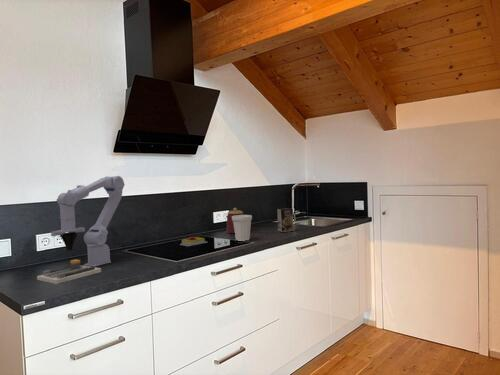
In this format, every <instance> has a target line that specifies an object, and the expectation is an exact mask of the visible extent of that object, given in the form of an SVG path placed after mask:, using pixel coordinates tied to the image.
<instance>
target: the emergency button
mask: <svg viewBox="0 0 500 375" xmlns="http://www.w3.org/2000/svg"><path fill="white" fill-rule="evenodd" d="M206 243H208V241H206V240H205V238H204V237H196V236H189V237H188V238H183V239H181V243H180V244H179V246H185V247H191V246H196V245H201V244H206Z"/></svg>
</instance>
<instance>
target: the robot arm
mask: <svg viewBox="0 0 500 375" xmlns="http://www.w3.org/2000/svg"><path fill="white" fill-rule="evenodd" d="M125 185H126V184H125V181H124V179H123V177H122V176H119V175H117V176H116V175H115V176H105V177H100V178H99V179H98V180H96V181H93V182H91V183H89V184H88V185H84V184H83V185H81V184H80V185H79V184H78V185H76V187H74V188H73V189H68V190H67V192H62V193H59V195H58V196H57V199H56V202H57V204H58V206H59V213H60V214H59V215H60V229H59V230H53V231H50V235H51V237H57V236H60V238H61V240H62V242H63V243H64V245H65V249H66V251H72V250H73V246H74V243H75V240H76V238H77V236H78V233H81V232H85V229H86V228H85V227H83V226H81V227H76V216H75V215H76V213H75V211H76V210H75V205H76V204H77V203H78V202H79V201H81V200H83V199H86V198H87V197H89V195H90V193H92V192H94V191H97V190H99V189H102V188H103V189H104V190H105V192H106V193H107V195H108V198H107V201H106V202H105V203H104V205H103V206H104V207H103V209H102V210H101V212H100V214H99V216H98V218H97V220H96V222H95V224H94V225H93V226H91V227H90V228H89V230H88V231H86V232H85V233H84V235H83V241H84V243H85V244H86V248H87V263H84V266H90V267H99V266H102V265H106V264H109V263H112V261H111V256H110V255H111V253H110V252H111V251H110V247H109V245H108V244H107V243H106V242H107V240H108V237H107V236H108V234H109V231H108V230H107V229H108V226H109V224H110V222H111V220H112V218H113V216H114V214H115V212H116V210H117V208H118V206H119V204H120V202H121V200H122V197H123V190H124V187H125Z"/></svg>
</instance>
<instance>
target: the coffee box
mask: <svg viewBox="0 0 500 375" xmlns="http://www.w3.org/2000/svg"><path fill="white" fill-rule="evenodd" d="M276 210H277V213H276V214H277V232H278V231H281V232H286V231H293V232H294V212H293V210H294V209H293V208H277V209H276Z"/></svg>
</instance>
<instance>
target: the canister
mask: <svg viewBox="0 0 500 375" xmlns="http://www.w3.org/2000/svg"><path fill="white" fill-rule="evenodd" d="M236 215H244V212H243V211H242V210H241V209H240V210H239V209H238V208H237V207H234V208H233V209H232V210H228V212H227V215H226V216H225V217H226V233H227V234H229V233H235V231H234V224H233V220H232V216H236Z"/></svg>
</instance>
